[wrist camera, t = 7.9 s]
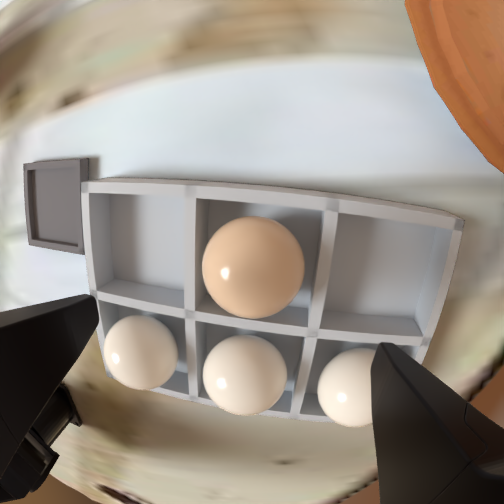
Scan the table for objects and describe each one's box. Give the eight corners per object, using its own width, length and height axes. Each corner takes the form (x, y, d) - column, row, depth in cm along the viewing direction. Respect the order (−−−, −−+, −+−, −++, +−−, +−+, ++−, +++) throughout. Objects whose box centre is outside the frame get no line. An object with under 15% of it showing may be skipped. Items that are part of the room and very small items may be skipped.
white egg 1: (190, 367, 20) (164, 414, 16) (131, 352, 21) (98, 391, 16) (188, 308, 19) (155, 352, 14) (123, 296, 19) (81, 330, 15)
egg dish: (91, 250, 19) (84, 254, 18) (36, 241, 20) (28, 244, 19) (88, 158, 17) (79, 159, 16) (31, 162, 18) (23, 163, 17)
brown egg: (309, 213, 16) (313, 236, 11) (298, 297, 17) (296, 344, 13) (218, 204, 16) (187, 222, 12) (215, 286, 18) (188, 329, 13)
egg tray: (386, 399, 19) (392, 423, 16) (123, 357, 22) (107, 376, 19) (444, 210, 15) (464, 220, 12) (106, 177, 17) (81, 182, 15)
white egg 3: (377, 391, 18) (388, 443, 14) (311, 387, 19) (309, 441, 14) (399, 334, 17) (419, 384, 12) (324, 328, 17) (327, 380, 13)
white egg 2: (284, 384, 19) (277, 437, 15) (215, 373, 20) (193, 422, 15) (295, 325, 18) (289, 377, 13) (216, 313, 18) (189, 360, 14)
